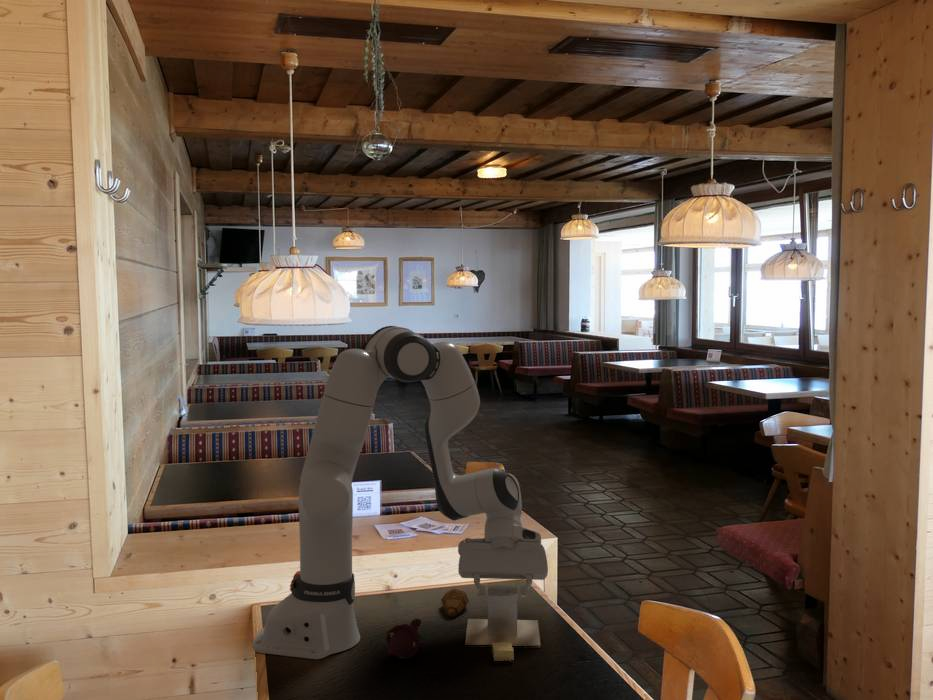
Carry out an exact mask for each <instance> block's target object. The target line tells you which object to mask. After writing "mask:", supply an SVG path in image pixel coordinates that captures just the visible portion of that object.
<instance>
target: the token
mask: <svg viewBox="0 0 933 700" xmlns="http://www.w3.org/2000/svg"><path fill="white" fill-rule="evenodd" d="M514 652H515V651H514V647H512V643H511V642H499V643H492V646H491V655H492V654H493V655H492V658H494V659H493V662H494V661H504V660H505V661H507V660H508V661H510V662H512V661H511V660H514V659H515V658H514V657H515V653H514Z"/></svg>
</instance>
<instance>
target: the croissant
mask: <svg viewBox="0 0 933 700" xmlns="http://www.w3.org/2000/svg"><path fill="white" fill-rule="evenodd" d="M440 601H441V604H442V608H443V611H444V613H445V614H446V617H447V618H449V619H451V618H452V619H453V618H455V617H457V616H458V615H460V614H461V613H462V611H464V609H465V607H466V606H467V605H468V604H469V601H470V599H469V597H468V595H467V593H466V591H464V590H461V589H457V588H452V589H449V590H446V592H445V593H444V594H443V596H442V598H441V600H440Z"/></svg>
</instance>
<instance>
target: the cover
mask: <svg viewBox="0 0 933 700" xmlns="http://www.w3.org/2000/svg"><path fill="white" fill-rule="evenodd" d="M487 587H488V589H487V619H488V636H506V637H517V620H518V585H506V584H505V585H500V584H497V585H495V584H491V585H490V584H489V585H487Z"/></svg>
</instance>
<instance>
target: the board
mask: <svg viewBox="0 0 933 700" xmlns="http://www.w3.org/2000/svg"><path fill="white" fill-rule="evenodd" d="M539 627H540V626H539V620H537V619H535V620H534V619H517V637H506V636H488V618H487V619H486V618H467V624H466V631H465V633H466V634H465V640H464V641H465V643H464V644H465V645H492V643H499V642H511V643H512V646H525V647H524V648H527V647H526V646H538V647H537V648H541V637H540V629H539ZM465 645H464V646H465Z"/></svg>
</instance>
